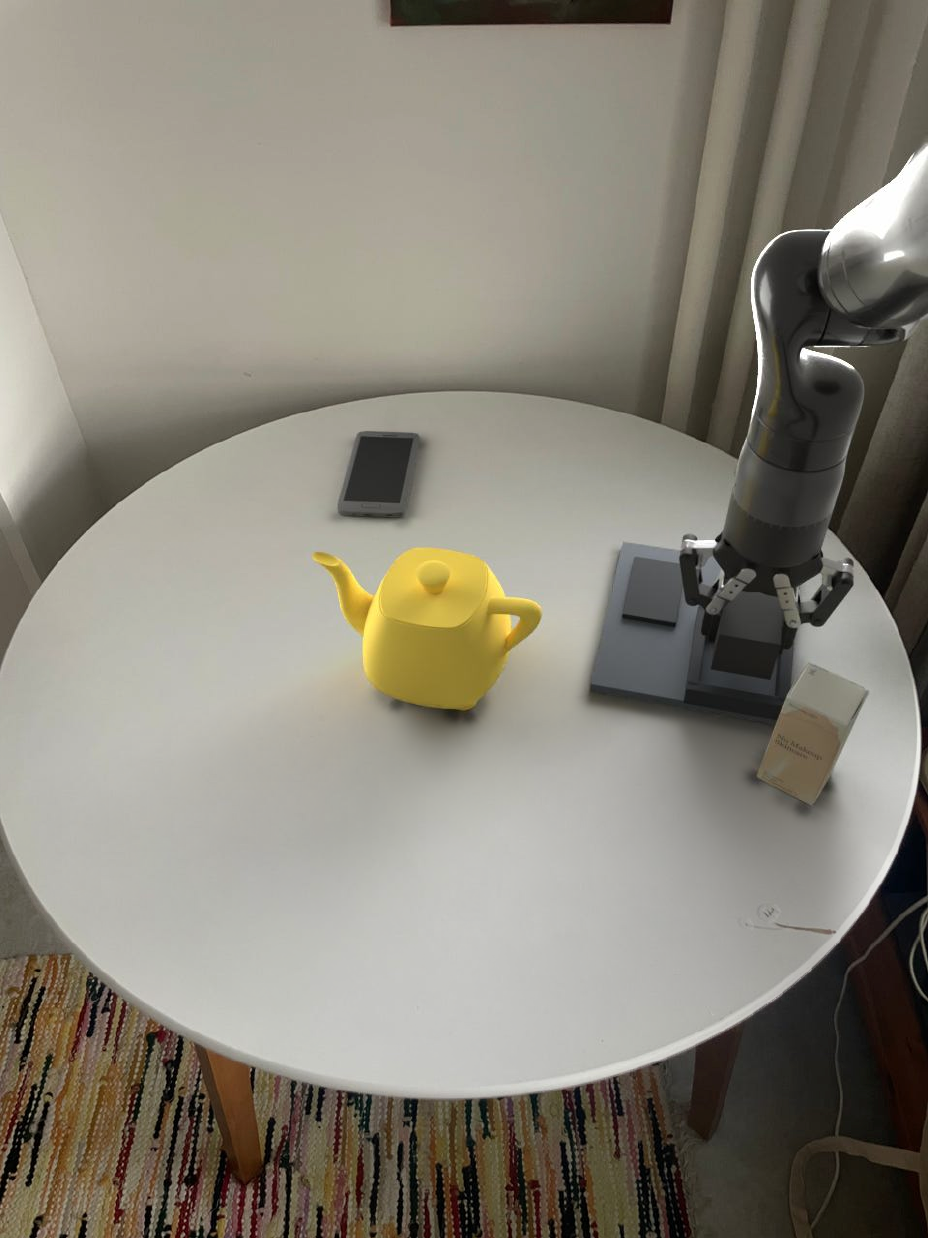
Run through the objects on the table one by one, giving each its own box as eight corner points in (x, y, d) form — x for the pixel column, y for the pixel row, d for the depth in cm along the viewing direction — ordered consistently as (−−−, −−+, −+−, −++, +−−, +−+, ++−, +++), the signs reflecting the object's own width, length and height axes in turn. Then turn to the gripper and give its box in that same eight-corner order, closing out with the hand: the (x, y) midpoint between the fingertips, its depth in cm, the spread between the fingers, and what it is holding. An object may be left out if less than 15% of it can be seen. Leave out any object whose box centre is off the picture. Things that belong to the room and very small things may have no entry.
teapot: (352, 597, 100) (337, 499, 91) (553, 631, 96) (558, 534, 87) (303, 702, 92) (281, 606, 82) (522, 745, 88) (524, 649, 79)
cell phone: (336, 515, 108) (335, 510, 108) (357, 435, 118) (357, 429, 117) (405, 518, 108) (404, 513, 107) (421, 437, 117) (420, 431, 117)
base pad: (794, 575, 101) (801, 553, 98) (784, 729, 88) (792, 708, 86) (622, 548, 104) (624, 526, 102) (588, 693, 91) (591, 671, 89)
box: (754, 777, 85) (781, 693, 77) (776, 742, 87) (804, 657, 79) (815, 809, 83) (849, 726, 75) (836, 772, 85) (871, 687, 77)
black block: (774, 621, 91) (785, 585, 88) (770, 680, 87) (781, 645, 84) (718, 611, 92) (726, 576, 89) (710, 669, 88) (718, 634, 84)
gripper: (681, 508, 76) (656, 658, 88) (885, 538, 73) (829, 689, 85) (692, 446, 81) (667, 597, 93) (884, 472, 78) (830, 624, 90)
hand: (744, 640), depth 89 cm, fingers closed on black block, 5 cm apart
